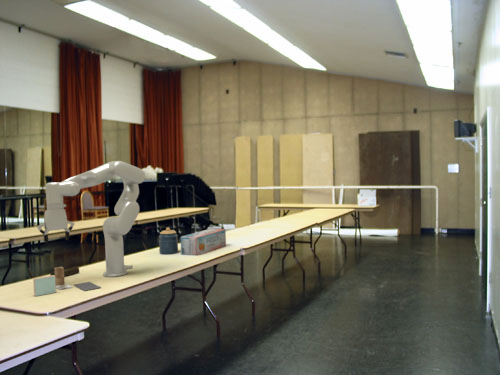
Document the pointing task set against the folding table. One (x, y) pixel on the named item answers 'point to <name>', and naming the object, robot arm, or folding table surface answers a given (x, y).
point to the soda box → (203, 241)
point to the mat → (87, 286)
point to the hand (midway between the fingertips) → (57, 241)
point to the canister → (168, 242)
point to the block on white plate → (60, 279)
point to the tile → (44, 285)
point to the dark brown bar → (68, 271)
